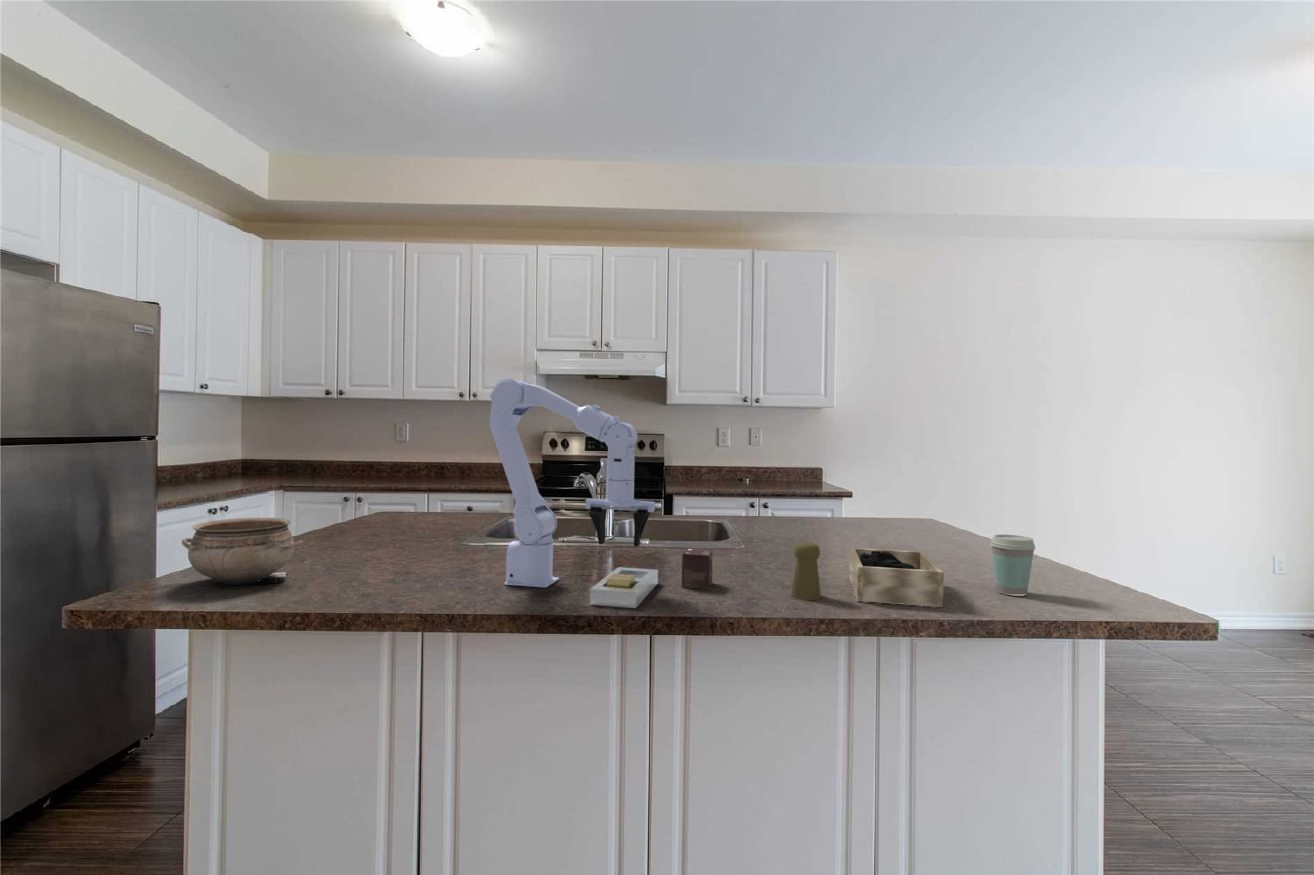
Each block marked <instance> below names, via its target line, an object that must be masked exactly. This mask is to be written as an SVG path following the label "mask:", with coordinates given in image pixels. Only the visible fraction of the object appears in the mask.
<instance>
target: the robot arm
mask: <svg viewBox="0 0 1314 875" xmlns="http://www.w3.org/2000/svg"><path fill="white" fill-rule="evenodd" d="M489 398H490V401H491V407H490V414H489V423H488V424H489V429H490V431H491V434H492V437H493V440H494V443H495V446H496V449H497V452H498V454H499V459H500V460H501V463H502V467H503V470H504V473H505V475H506V479H507V482H508V484H509V487H510V490H511V493H512V496H513V499H514V502H515V503H514V508H513V510H512V511H513V512H512V514H513V517H514V533H515V535H516V537H517V538H518V540H512V541H511V542H509V544H508V546H507V550H506V557H505V558H506V560H505V563H506V564H505V565H506V566H505V567H506V568H505V582H504V585H505V586H506V585H507V586H521V587H531V588H532V587H533V588H534V587H535V588H544V589H545V588H547V587H549V586H552V584H554V583H555V582H557V581H558V580H560V577H559V576H553V571H554V570H553V565H554V564H553V560H554V558H553V557H554V554H553V553H554V538H553V534H554V532H555V531H556V529H557V527H558V519H557V516H556V514H555V513H554V512H553V511H552V510H551V508H550V507H549V505H548V502H547V501H546V500H545V498H544V497H542V495H541V494H540V492H539V489H538V487H537V486H538V485H537V484H536V481H535V478H534V474H533V472H532V469H531V466H530V463H529V460H528V458H527V455H526V451H525V449H524V446H523V442H522V440H521V437H520V434H519V431H518V429H517V427H518V425H519V422H520V420H521V419H522V417H523V416H524V415H525V414H526V413H527V412H528V411H530V410H531V409H532V407H543V408H545V409H547V410H550V411H552V412H554V413H555V414H559V415H561V416H562V417H565V418H567V419H570V421H571V420H572V421H573V423H574V426H575V428H576V429H577V430H578V431H580V432H582V433H584V434H586V435H587V436H590V437H592V438H594V439H595V440H598V441H599V442H601V443H605V445H606V447H607V463H606V466H607V468H606V498H586V499H585V509H587V510H589V511H588V515H589V517H590V519H591V521H592V524H593V525H594V528H595V531H596V536H597V539H598V544H599V545H603V544H605V541H606V518H607V511H608V510H611V511H612V510H613V511H615V510H617V511H633V524H634V526H633V528H634V534H633V547H639V546H640V544H641V540H642V534H643V531H644V529H645V526H646V523H647V521H648V519H649V518H650V515H651V513H653V512H655V508H656V505H655V504H656V502H655V501H646V500H636V499H635V496H634V495H635V462H636V461H635V445H636V444H637V441H638V437H639V436H638V432H637V429H636V428H635V426H634V425H632V424H631V423H630V422H628V421H621V422H620V417H619V416H617V415H614V416H612V415H611V414H608V413H606V412H604V411H602V410H601V406H599V405H597V404H593V405H589V404H586V405H584V406H582V407H580V406H579V405H577V404H575V403H574V402H571V401H570V400H568V399H566V398H564V397H562V396H560V395H559V394H557V393H555V392H553V391H551V390H550V389H547V388H545V387H543V386H540V385H536V384H532V382H530V381H526V380H525V381H524V380H514V379H512V378H504V379H500V380H499V381H498V382H497V383H496V385H495V386H494V388H493V390H492V391H491V393H490V394H489ZM634 511H635V512H634Z"/></svg>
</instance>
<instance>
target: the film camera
mask: <svg viewBox="0 0 1314 875" xmlns="http://www.w3.org/2000/svg"><path fill="white" fill-rule="evenodd" d="M859 559H860V561H861V563H862V565H863V566H868V567H884V568H901V569H915V568H914V567H913V566H912V565H910V564H906V563H901V561H899V560H898V559H897V558H896V557H895V556H893V555H892V554H890V553H889V552H879V551H872V552H871V555H870V554H866V553H863V554H862V555H861V557H860V558H859Z"/></svg>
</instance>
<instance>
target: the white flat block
mask: <svg viewBox="0 0 1314 875" xmlns="http://www.w3.org/2000/svg"><path fill="white" fill-rule="evenodd" d="M612 574H626V575H635V586H634V587H633V588H632V589H630V588H616V587H607V578H609V577H610V576H611V575H612ZM658 584H659V570H658V569H649V568H636V567H623V566H621V567H620V566H619V567H616V568H615V569H614V570H612V571H611V572H610V573H608V575H606V576H605V577H604V578H602V579H601V580H600V581H599V582H597V583H596V584H595V585H594V586H593V587H590V589H589V591H590V592H589V605H592V606H602V607H604V606H605V607H617V608H628V609H629V608H630V609H637V607H638V606H639V605H640V604H641V603H642V602H643V601H644V600H645V598H647V597H648V595H649V594H650V592H652V590H654V588H655V587H656V586H657V585H658Z"/></svg>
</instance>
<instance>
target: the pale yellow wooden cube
mask: <svg viewBox="0 0 1314 875" xmlns="http://www.w3.org/2000/svg"><path fill="white" fill-rule="evenodd" d="M634 586H635V575H626V574H612V575H611V576H610V577H609V578H607V587H616V588H630V589H632V588H633V587H634Z"/></svg>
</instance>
